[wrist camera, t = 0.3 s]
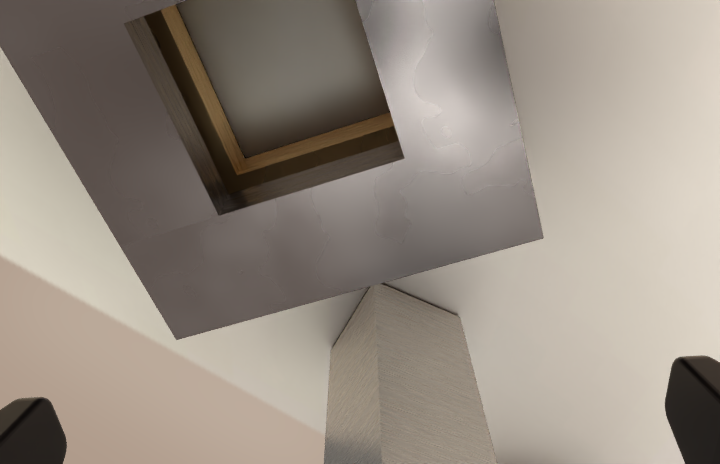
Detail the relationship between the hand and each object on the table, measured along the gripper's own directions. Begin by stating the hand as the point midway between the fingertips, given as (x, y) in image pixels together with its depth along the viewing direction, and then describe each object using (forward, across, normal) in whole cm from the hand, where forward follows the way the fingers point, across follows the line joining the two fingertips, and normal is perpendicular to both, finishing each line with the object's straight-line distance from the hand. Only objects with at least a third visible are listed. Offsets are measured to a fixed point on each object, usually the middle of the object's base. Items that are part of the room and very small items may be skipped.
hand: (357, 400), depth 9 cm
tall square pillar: (+14, -1, +9) cm, 17 cm away
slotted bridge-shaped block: (+13, +2, -2) cm, 14 cm away
